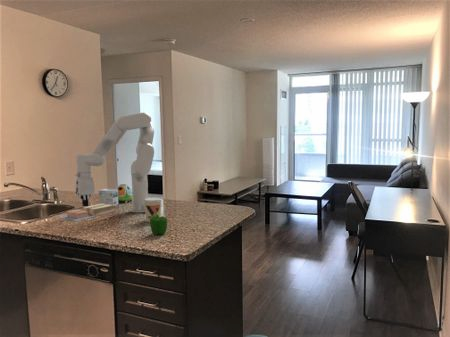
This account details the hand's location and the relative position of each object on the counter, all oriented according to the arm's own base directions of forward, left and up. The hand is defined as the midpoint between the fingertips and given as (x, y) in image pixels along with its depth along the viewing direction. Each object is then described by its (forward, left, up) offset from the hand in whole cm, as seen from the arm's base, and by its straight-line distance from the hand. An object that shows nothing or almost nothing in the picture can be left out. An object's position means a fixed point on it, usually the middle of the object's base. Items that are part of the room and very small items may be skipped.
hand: (85, 206), depth 227 cm
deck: (0, -9, -6) cm, 11 cm away
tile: (0, +5, -2) cm, 6 cm away
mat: (0, +6, -6) cm, 8 cm away
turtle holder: (+17, -43, -6) cm, 47 cm away
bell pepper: (-64, +5, -6) cm, 64 cm away
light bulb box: (+13, -27, -6) cm, 31 cm away
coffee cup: (-42, -13, -6) cm, 44 cm away
